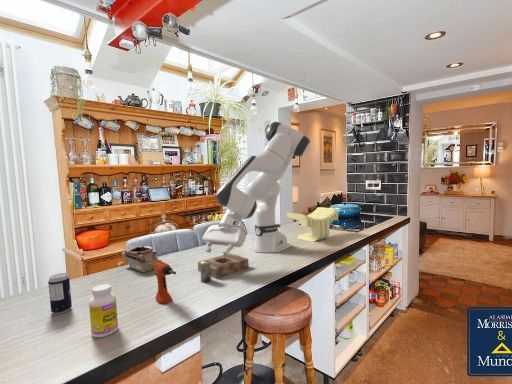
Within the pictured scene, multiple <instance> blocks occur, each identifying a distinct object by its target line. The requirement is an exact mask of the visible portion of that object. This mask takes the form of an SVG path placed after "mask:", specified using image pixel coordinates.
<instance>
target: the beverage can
mask: <svg viewBox="0 0 512 384" xmlns="http://www.w3.org/2000/svg"><path fill="white" fill-rule="evenodd" d="M70 282H71V281H70V276H69V275H68V273H67V272H61V273H60V272H59V273H57V274H53V275H51V276H49V277H48V282H47V283H48V294H49V303H50V304H49V305H50V312H51V313H53V314H54V315H60V314H64V313H66V312H68V311H70V309H71V308H72V306H73V305H72V294H71V293H72V292H71V284H70Z"/></svg>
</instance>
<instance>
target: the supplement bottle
mask: <svg viewBox="0 0 512 384" xmlns="http://www.w3.org/2000/svg"><path fill="white" fill-rule="evenodd" d="M91 290H92V291H91V292H92V295H93V296H92V297H90V299H89V301H88V307H89V318H90V319H89V320H90V332H91V335H92V336H93V337H95V338H104V337H108V336H110V335H113V334H114V333H115V332H116V331H118V328H119V324H118V323H119V322H118V310H117V308H118V307H117V296H116V294H115V293H113V292H112V290H113V289H112V285H111V284H109V283H105V284H104V283H103V284H99V285H96V286H94V287H93V288H92V289H91Z"/></svg>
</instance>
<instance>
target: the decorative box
mask: <svg viewBox="0 0 512 384" xmlns="http://www.w3.org/2000/svg"><path fill="white" fill-rule="evenodd" d="M157 255H158V250H156V249H155V250H153V247H152V246H148V245H140V246H139V245H138V246H133V247H130V248H128V249H127V250H124V251H123V252H121V257H122V258H123V259H125V261H126V263H127V264H128V266H129V267H130V268H131V269H134V270H135V271H139V272H142V273H146V272H151V271H152V270H154V265H155V263H156V262H157V261H158V260H159V257H156V256H157Z"/></svg>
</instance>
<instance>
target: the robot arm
mask: <svg viewBox="0 0 512 384" xmlns="http://www.w3.org/2000/svg"><path fill="white" fill-rule="evenodd" d="M265 139H266V140H267V144H266V145H265V147H264V148H263V150H262V151H261V152H259V154H257V155H251V156H250V157H248V158H247V159H246V160H245V161H244V163H243V164H241V165H240V167H239V168H238V169H237V170H236V171H235V172H234V173H233V175H231V177H230V178H229V179H228V180H227V181H226V182H224V184H223V185H221V186H220V187H219V188H218V190H217V191H216V194H215V199H216V201H217V204H218V205H220V206H222V207H224V208H225V213H224V214H223V215H222V216H221V219H220V221H219V223H218V224H212V225H211V226H209V227H208V228H207V230H206V231H205V232H204V234H203V235H202V241H203V242H204V243H205V244H206V249H205V252H206V253H211V251H212V248H211V247H212V246H213V245H215V246H216V245H218V246H225V247H227V248H226V249H225V248H224V250H223V252H222V254H223V255H228V254H229V253H230V252H231V251H232V250H233V249H234V248H235V247H236V248H241V247H242V246H243V245H244V243H245V239H246V235H247V233H248V229H247V228H246V226H245V225H244V224H243V222H242V220H246V219H250V218H252V217H253V215H254V214H255V215H254V217H255V218H254V219H255V221H254V223H255V224H254V232H255V235H254V236H255V239H254V245H253V246H254V247H253V251H255V252H257V253H261V254H263V253H267V254H269V253H280V252H282V251H284V250H287V249H288V248H291V247H292V244H291V243H289V242H288V240H287V239H288V238H287V236H286V235H285V234H284V233H282V232H281V231H280V230H279V229H280V228H281V227H282V225H281V223H276V205H277V201H278V196H279V194H280V192H281V185H280V183H279V182H278V181H279V180H280V179H281V178H283V176H284V175H285V173H286V170H287V169H288V167H289V165H290V164H291V163H290V162H292V159H293V157H299V158H300V157H302V156H303V155H305V154H307V152H308V151H309V149H310V144H311V140H310V138H309V137H308V136H307V135H304V134H303V133H301V132H300V131H299V130H296V129H294V128H292V127H290V126H288V125H285V124H283V123H282V122H279V121H274V122H271V123H270V124H269V126H268V127H267V128H266V132H265ZM251 172H258V174H257V175H256V177H254V179H253V180H251V182H249V183H248V184H247V185H246V188H245V192H244V191H242V190H240V189H239V188H238V187H237V186H238V184H239V183H240V182H241V181H242V180H243V179H244V178H245V176H247V174H248V173H251ZM257 203H258V204H257ZM278 228H279V229H278Z"/></svg>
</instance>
